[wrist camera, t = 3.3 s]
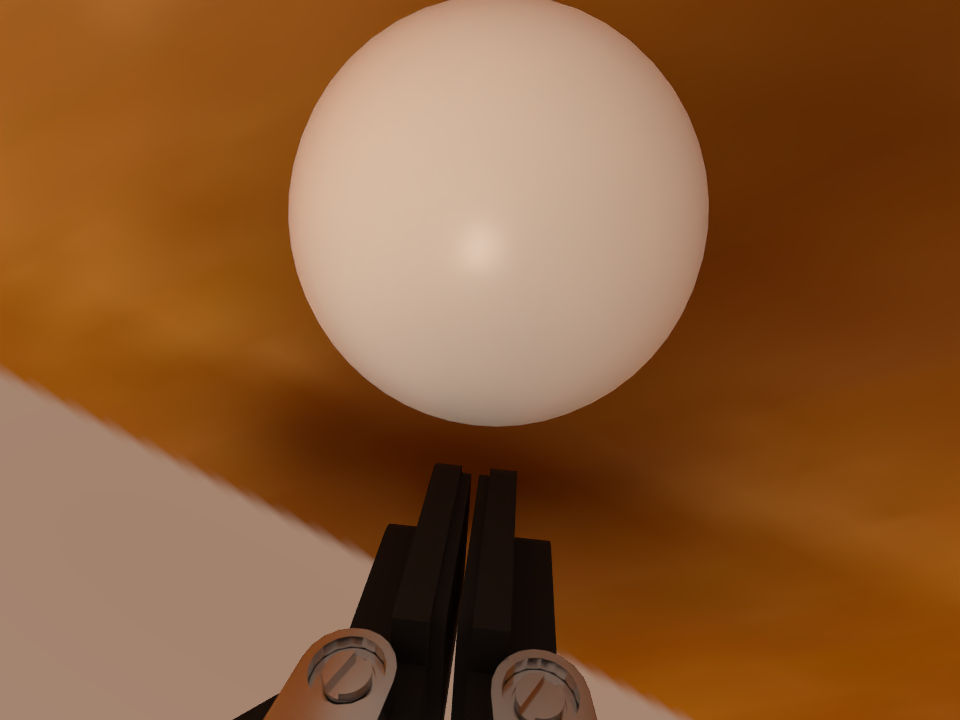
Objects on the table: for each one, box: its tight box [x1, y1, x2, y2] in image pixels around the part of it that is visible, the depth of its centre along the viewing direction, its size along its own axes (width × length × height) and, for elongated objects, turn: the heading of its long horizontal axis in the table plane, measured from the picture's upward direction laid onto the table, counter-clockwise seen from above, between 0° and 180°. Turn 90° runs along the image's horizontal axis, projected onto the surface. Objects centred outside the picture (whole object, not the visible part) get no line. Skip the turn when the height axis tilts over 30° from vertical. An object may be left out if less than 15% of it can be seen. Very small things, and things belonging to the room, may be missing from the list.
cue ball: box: [288, 0, 709, 427], centre depth 8 cm, size 6×6×6 cm
